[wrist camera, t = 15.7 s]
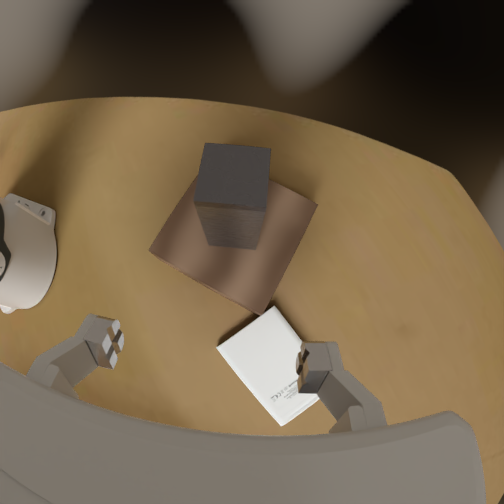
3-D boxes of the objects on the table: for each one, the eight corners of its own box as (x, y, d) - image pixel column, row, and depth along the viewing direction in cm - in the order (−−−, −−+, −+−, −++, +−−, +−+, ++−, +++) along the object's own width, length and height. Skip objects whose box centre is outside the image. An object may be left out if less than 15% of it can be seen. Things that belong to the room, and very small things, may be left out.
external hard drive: (273, 305, 32) (332, 382, 30) (216, 346, 30) (279, 423, 28) (274, 304, 30) (336, 385, 28) (215, 347, 29) (281, 427, 26)
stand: (158, 258, 32) (148, 250, 28) (215, 170, 35) (213, 153, 32) (259, 315, 31) (262, 314, 27) (309, 217, 34) (318, 204, 31)
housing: (208, 245, 29) (193, 200, 18) (214, 202, 30) (205, 143, 19) (255, 250, 29) (266, 207, 18) (259, 206, 30) (270, 148, 19)
